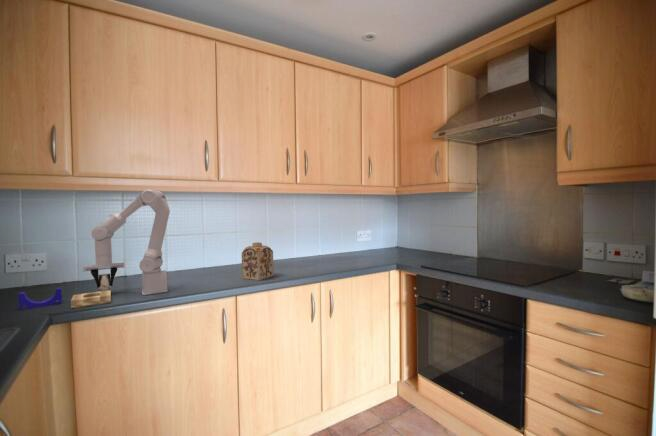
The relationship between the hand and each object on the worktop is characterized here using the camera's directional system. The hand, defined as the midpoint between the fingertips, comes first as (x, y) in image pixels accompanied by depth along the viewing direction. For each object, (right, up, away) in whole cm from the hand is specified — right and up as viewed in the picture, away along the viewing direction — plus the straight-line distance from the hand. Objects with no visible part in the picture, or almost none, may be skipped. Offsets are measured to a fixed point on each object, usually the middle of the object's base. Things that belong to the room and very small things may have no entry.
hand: (105, 286), depth 139 cm
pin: (0, -3, 0) cm, 3 cm away
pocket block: (+3, -4, -12) cm, 13 cm away
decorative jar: (+59, -2, +29) cm, 66 cm away
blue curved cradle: (-14, -5, -14) cm, 21 cm away
